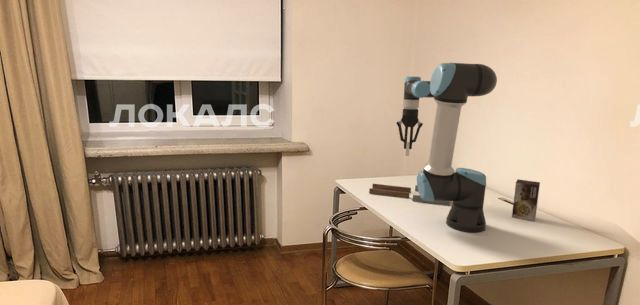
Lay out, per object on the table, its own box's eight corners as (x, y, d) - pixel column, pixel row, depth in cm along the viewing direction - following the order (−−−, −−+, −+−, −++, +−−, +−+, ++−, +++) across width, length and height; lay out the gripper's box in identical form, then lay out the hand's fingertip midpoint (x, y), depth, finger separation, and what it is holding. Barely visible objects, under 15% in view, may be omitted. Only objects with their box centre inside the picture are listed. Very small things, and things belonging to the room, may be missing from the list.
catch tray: (449, 205, 183) (449, 199, 183) (412, 201, 188) (412, 195, 188) (448, 194, 201) (449, 188, 201) (415, 190, 206) (415, 185, 206)
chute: (408, 198, 193) (409, 193, 192) (369, 193, 198) (369, 188, 198) (410, 192, 203) (411, 187, 202) (372, 188, 209) (372, 183, 208)
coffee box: (535, 217, 171) (540, 182, 167) (534, 221, 165) (539, 185, 162) (512, 213, 175) (517, 178, 172) (511, 217, 170) (515, 181, 167)
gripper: (424, 108, 192) (420, 155, 196) (398, 107, 196) (394, 153, 200) (424, 109, 185) (420, 157, 189) (396, 108, 189) (393, 155, 193)
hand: (407, 155), depth 195 cm, fingers closed
